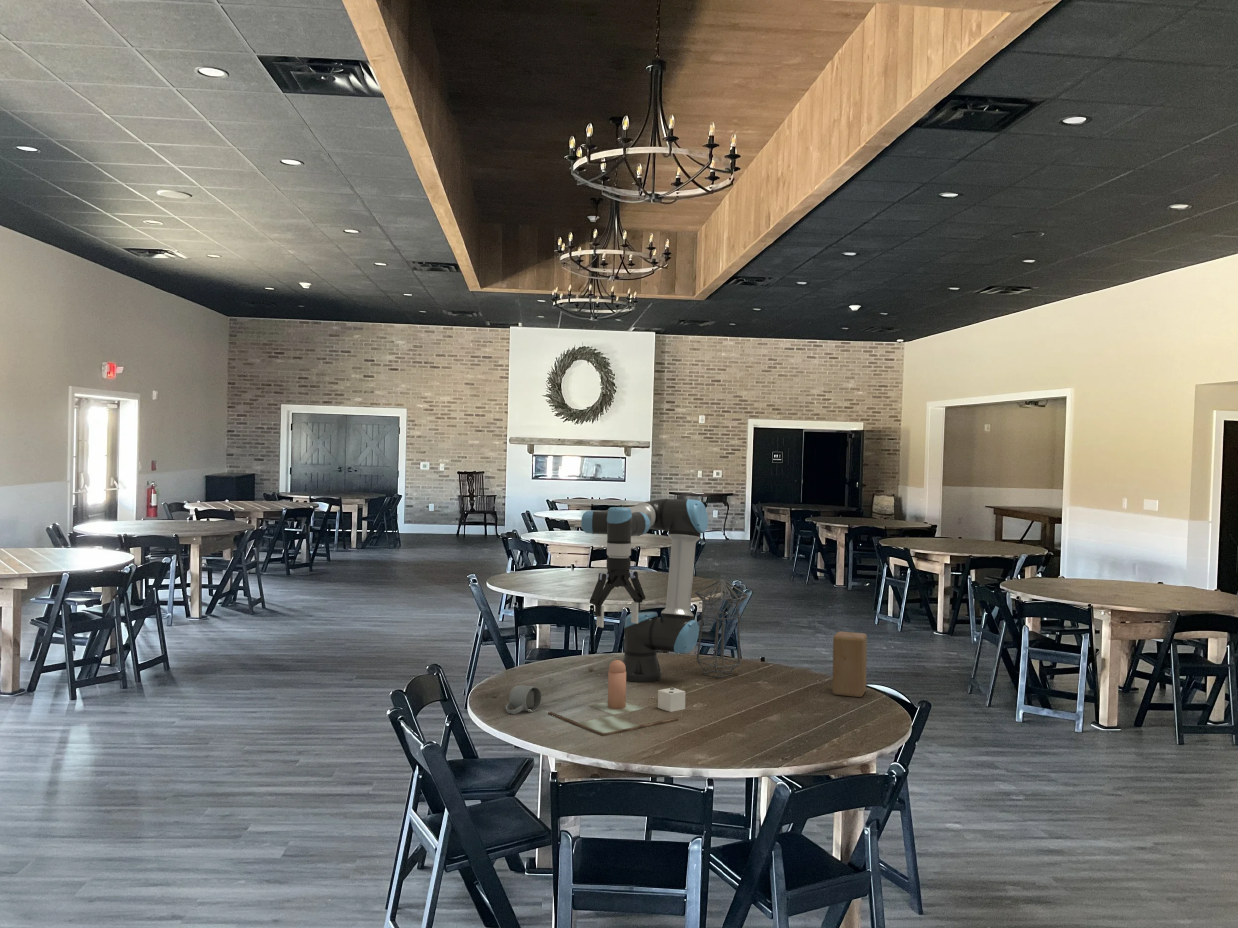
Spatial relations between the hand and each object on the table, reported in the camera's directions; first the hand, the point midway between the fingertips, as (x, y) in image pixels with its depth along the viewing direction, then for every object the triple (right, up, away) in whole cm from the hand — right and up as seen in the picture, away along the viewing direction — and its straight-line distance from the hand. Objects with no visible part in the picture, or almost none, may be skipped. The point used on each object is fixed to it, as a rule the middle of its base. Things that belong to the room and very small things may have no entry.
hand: (617, 624), depth 289 cm
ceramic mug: (-29, -26, -4) cm, 39 cm away
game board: (-2, -26, -10) cm, 28 cm away
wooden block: (+78, -28, +24) cm, 86 cm away
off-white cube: (+17, -26, -1) cm, 31 cm away
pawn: (0, -26, 0) cm, 26 cm away
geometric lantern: (+37, -27, +49) cm, 68 cm away
